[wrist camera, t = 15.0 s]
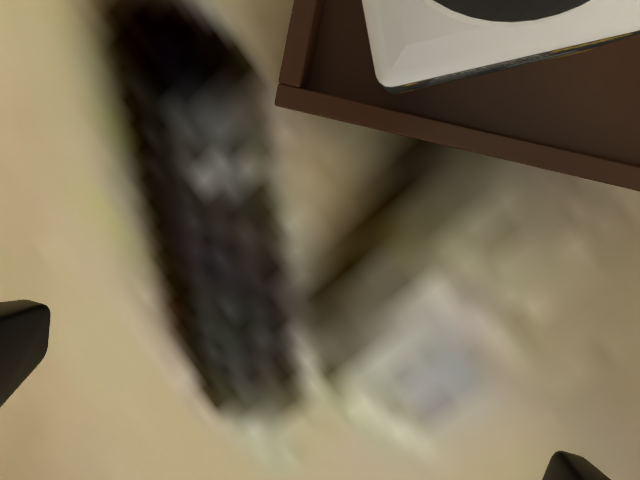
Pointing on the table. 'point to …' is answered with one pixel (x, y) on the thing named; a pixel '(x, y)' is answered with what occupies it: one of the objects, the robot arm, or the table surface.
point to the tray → (475, 98)
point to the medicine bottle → (485, 35)
